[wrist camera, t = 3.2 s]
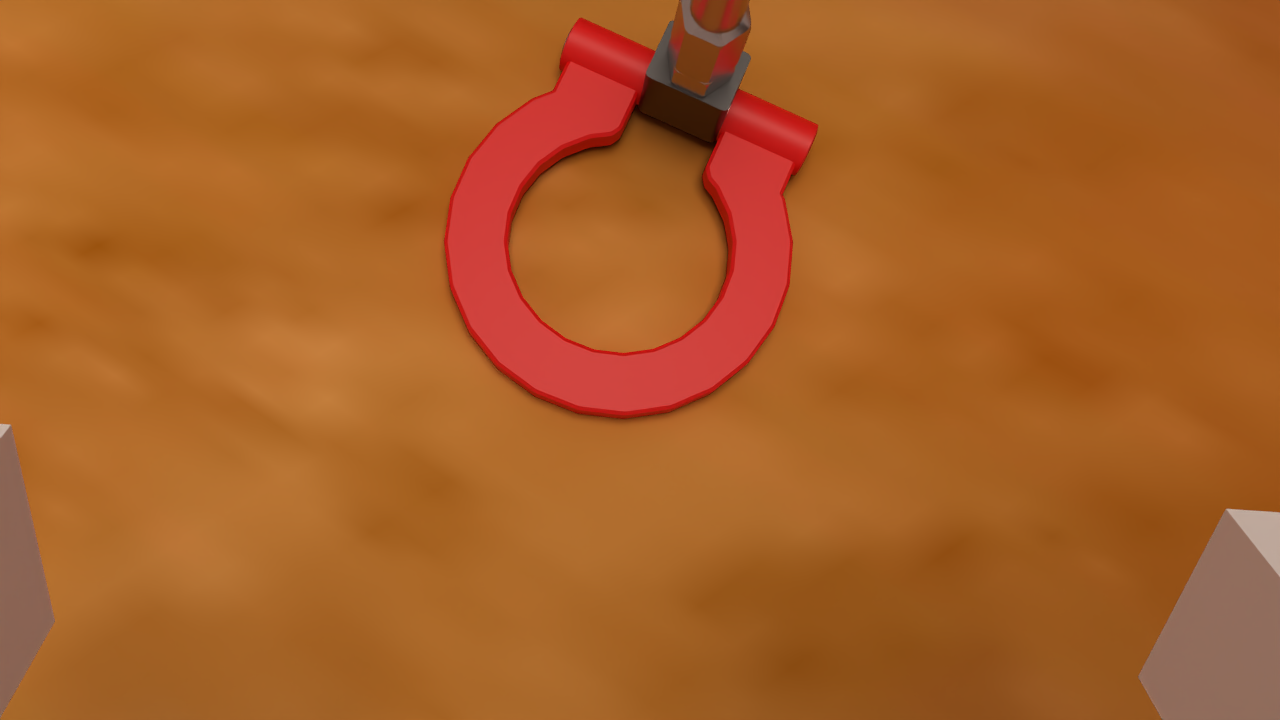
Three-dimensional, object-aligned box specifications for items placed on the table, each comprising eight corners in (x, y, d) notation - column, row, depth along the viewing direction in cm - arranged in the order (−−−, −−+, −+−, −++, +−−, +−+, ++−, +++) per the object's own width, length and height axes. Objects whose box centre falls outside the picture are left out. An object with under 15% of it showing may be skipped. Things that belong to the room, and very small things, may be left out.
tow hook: (705, 476, 26) (843, 151, 28) (859, 399, 14) (1091, -183, 15) (390, 334, 26) (549, 18, 28) (248, 124, 13) (556, -427, 15)
